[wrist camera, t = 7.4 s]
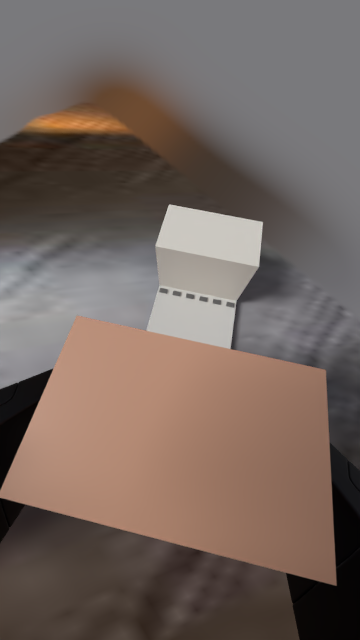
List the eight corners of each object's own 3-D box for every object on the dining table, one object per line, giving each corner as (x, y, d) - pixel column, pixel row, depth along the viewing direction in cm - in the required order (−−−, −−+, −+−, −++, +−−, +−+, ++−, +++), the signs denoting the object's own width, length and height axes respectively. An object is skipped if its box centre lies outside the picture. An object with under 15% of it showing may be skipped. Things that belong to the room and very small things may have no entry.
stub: (205, 437, 14) (336, 585, 3) (134, 420, 14) (-2, 496, 3) (211, 391, 15) (325, 369, 4) (146, 376, 15) (76, 316, 4)
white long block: (211, 483, 14) (236, 535, 8) (110, 458, 14) (74, 494, 9) (239, 266, 20) (262, 220, 15) (170, 252, 20) (169, 203, 15)
